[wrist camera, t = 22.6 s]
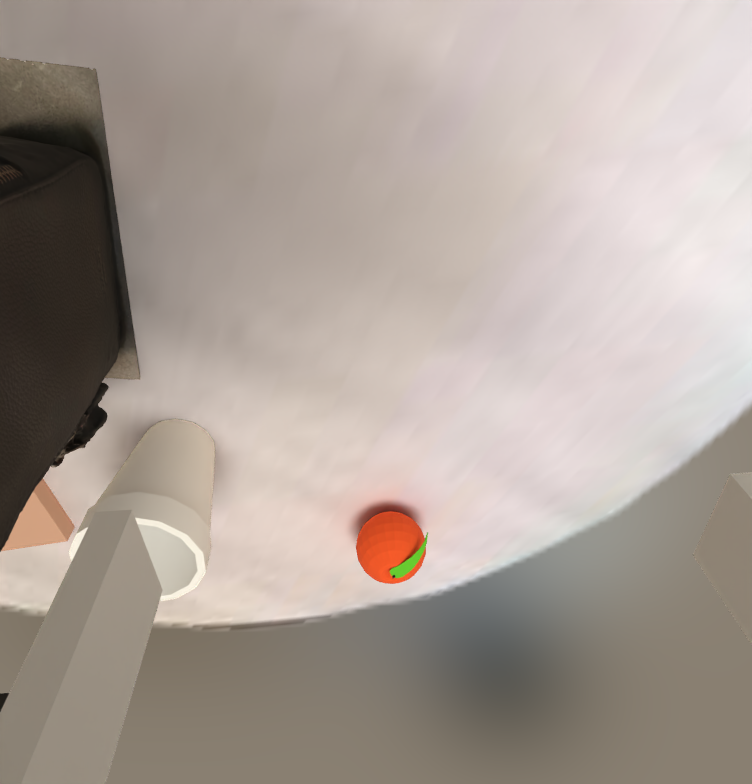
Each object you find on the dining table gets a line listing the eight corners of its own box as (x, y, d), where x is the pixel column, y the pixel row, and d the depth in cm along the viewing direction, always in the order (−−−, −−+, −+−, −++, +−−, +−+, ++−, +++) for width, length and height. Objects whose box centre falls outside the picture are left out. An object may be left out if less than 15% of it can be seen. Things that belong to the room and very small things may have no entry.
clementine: (399, 480, 55) (406, 536, 49) (442, 515, 58) (454, 571, 52) (341, 521, 58) (342, 578, 52) (385, 552, 61) (390, 609, 55)
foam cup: (240, 418, 50) (215, 530, 39) (224, 491, 55) (197, 608, 44) (129, 395, 48) (69, 507, 37) (122, 473, 52) (67, 592, 42)
